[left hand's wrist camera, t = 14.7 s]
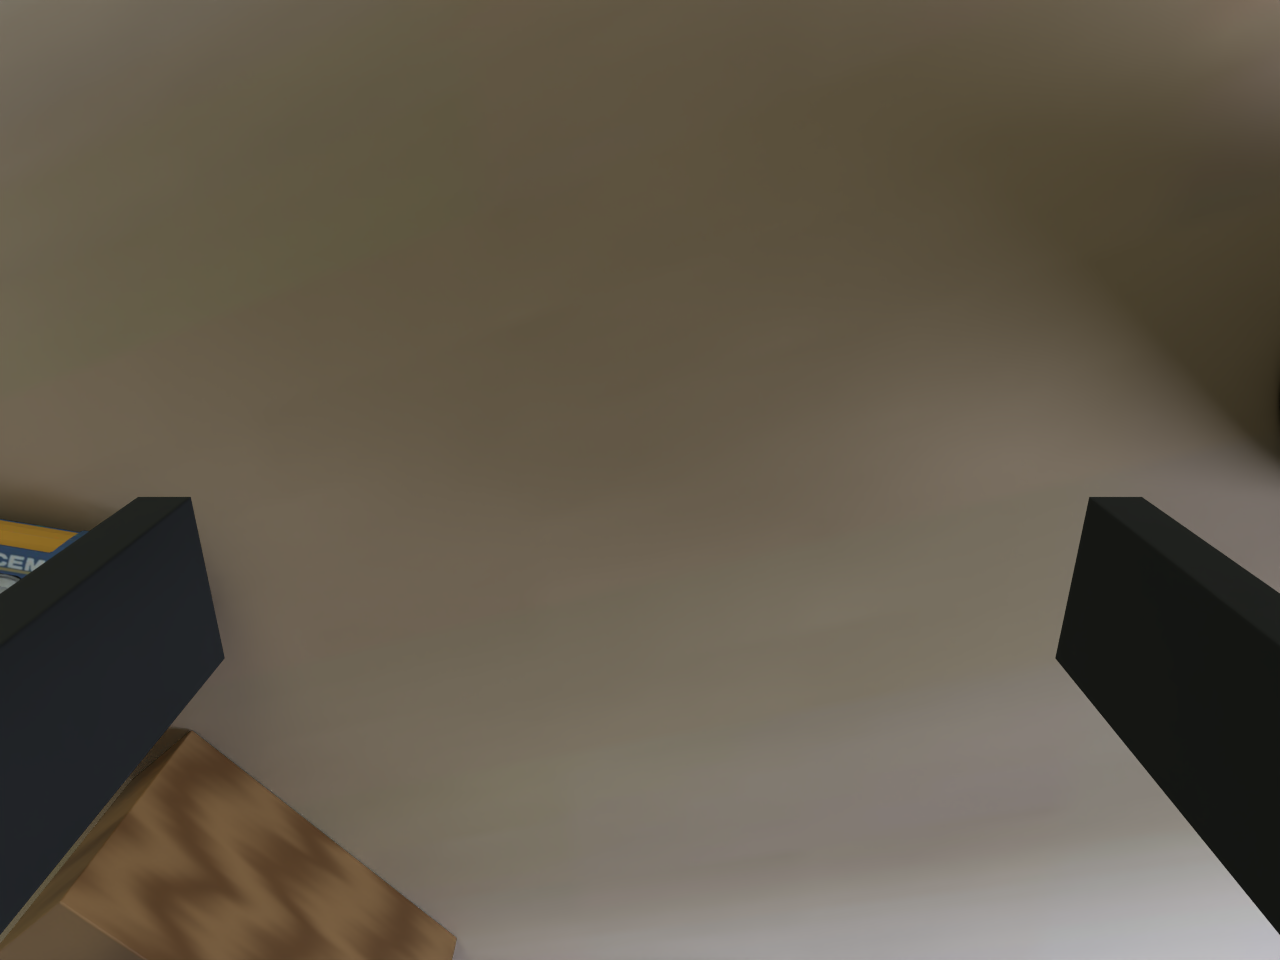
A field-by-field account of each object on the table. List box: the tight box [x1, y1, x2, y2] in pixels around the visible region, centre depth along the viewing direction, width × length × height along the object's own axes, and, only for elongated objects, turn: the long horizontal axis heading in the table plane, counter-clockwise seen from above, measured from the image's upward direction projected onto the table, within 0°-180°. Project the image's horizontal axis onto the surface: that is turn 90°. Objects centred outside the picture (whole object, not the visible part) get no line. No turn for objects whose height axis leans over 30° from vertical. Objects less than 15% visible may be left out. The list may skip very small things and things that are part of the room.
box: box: [0, 731, 457, 960], centre depth 48 cm, size 22×6×12 cm, turn 41°
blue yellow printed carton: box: [0, 519, 89, 593], centre depth 45 cm, size 21×4×15 cm
